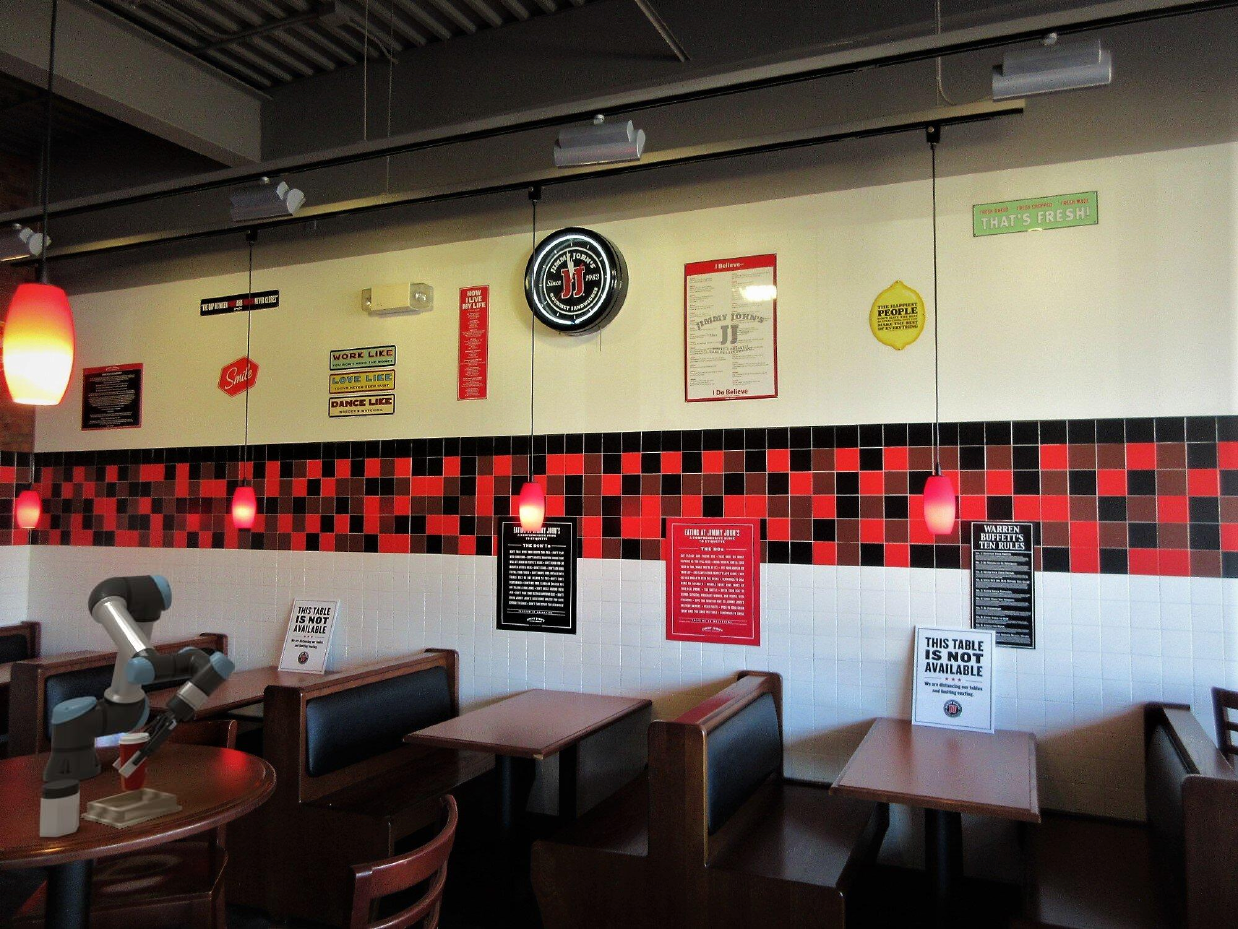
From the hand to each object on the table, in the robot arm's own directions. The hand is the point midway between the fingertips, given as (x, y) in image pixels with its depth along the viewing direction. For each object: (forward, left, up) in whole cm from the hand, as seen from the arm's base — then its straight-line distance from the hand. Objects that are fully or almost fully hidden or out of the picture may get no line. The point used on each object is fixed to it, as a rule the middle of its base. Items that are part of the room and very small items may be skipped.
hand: (119, 771), depth 233 cm
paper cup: (+1, +3, -5) cm, 6 cm away
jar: (-2, -14, -12) cm, 18 cm away
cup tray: (+1, +3, -12) cm, 12 cm away
